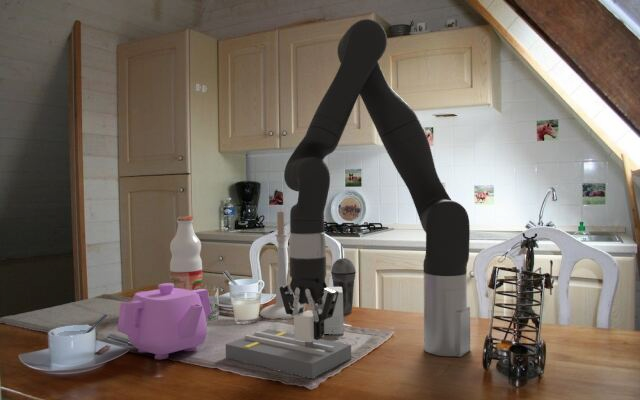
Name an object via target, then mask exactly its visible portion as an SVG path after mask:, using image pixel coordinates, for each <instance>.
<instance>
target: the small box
mask: <svg viewBox="0 0 640 400" xmlns="http://www.w3.org/2000/svg"><path fill="white" fill-rule="evenodd" d="M327 288H328V289H330V290H332V291H335V290H337V291H338V293H339V294H338V298H337V302H336V305H335V309H334V312H333V316H332V317H331V318H328V319H326V320H324V334H329V335H330V336H331V334H332V335H344V334H345V333H344V332H345V330H344V329H345V328H344V325H345V324H344V314H343V290H342V287H333V286H327ZM324 297H325V294H324V295H323V302H324V303H325V299H324Z"/></svg>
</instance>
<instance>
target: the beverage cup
mask: <svg viewBox="0 0 640 400" xmlns="http://www.w3.org/2000/svg"><path fill="white" fill-rule="evenodd" d="M343 251H344V249H343V243H340V255H341V258H339V259H337V260H335V261H334V263H333V264H332V266H331V271H330V273H331V279H332V287H342V290H343V315H348V314H351V313H352V311H353V303H354V302H353V300H354V290H355V288H354V287H355V279H356V273H357V270H356V266H355V265H354V263H353V262H352V261H351V259H349V258H344V252H343Z"/></svg>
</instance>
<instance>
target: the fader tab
mask: <svg viewBox="0 0 640 400" xmlns="http://www.w3.org/2000/svg"><path fill="white" fill-rule="evenodd" d="M304 311H305V310H304ZM314 322H315V321H314V317H313V313H312V311H311V310H309V309H308V310H306V311H305V312H302V313H299V314H296V315H294V318H293V334H294V339H295V340H300V341H305V347H310V348H313V341H315V339H314ZM323 337H325V335H324V336H323ZM323 337H322V338H323Z"/></svg>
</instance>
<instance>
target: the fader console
mask: <svg viewBox="0 0 640 400" xmlns="http://www.w3.org/2000/svg"><path fill="white" fill-rule="evenodd" d="M228 358H229V360H232V359H233V360H232V361H236V360H238V361H237V362H240V361H241V362H240V363H244V362H246V363H245V364H248V363H250V364H249V365H252V364H253V366H256V365H258V366H257V367H260V366H263V367H262V368H264V367H267V368H266V369H268V368H271V369H270V370H272V369H276V370H275V371H277V370H280V371H279V372H281V371H284V372H283V373H285V372H288V373H287V374H289V373H292V374H291V375H293V374H296V375H295V376H297V375H300V376H299V377H301V376H304V377H303V378H305V377H309V378H314V377H316V376H318V375H320V374H322V373H324V372H326V371H327V372H329V371H331V370H333V369H335V368H336V367H335V366H337V365H339V364H341V363H343V362H345V361H346V362H348V361H350V360H352V344H349V343H343V342H337V341H334V340H328V339H322V338H321V339H319V340H315V341H313V348H310V347H305V341H300V340H295V339H294V333H291V332H285V331H281V330H274V329H270V328H268V329H264V330H262V331H255V332H254V333H253V334H246V335H244V337H242V338H239V339H236V340H233V341H231V342H228V343H226V344H225V359H228ZM349 359H350V360H349ZM347 360H348V361H347ZM346 362H345V363H346ZM343 364H344V363H343ZM341 365H342V364H341ZM339 366H340V365H339ZM334 367H335V368H334ZM337 367H338V366H337ZM332 368H333V369H332ZM330 369H331V370H330ZM328 370H329V371H328ZM327 372H326V373H327ZM324 374H325V373H324ZM322 375H323V374H322ZM320 376H321V375H320ZM318 377H319V376H318ZM309 378H308V379H309ZM316 378H317V377H316ZM314 379H315V378H314Z"/></svg>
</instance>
